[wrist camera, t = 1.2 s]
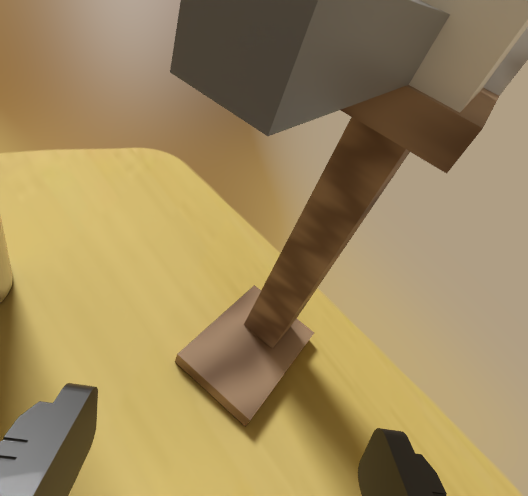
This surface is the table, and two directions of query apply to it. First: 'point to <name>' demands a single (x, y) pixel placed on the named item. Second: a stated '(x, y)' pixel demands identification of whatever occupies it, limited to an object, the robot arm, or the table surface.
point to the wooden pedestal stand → (332, 234)
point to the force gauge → (339, 52)
